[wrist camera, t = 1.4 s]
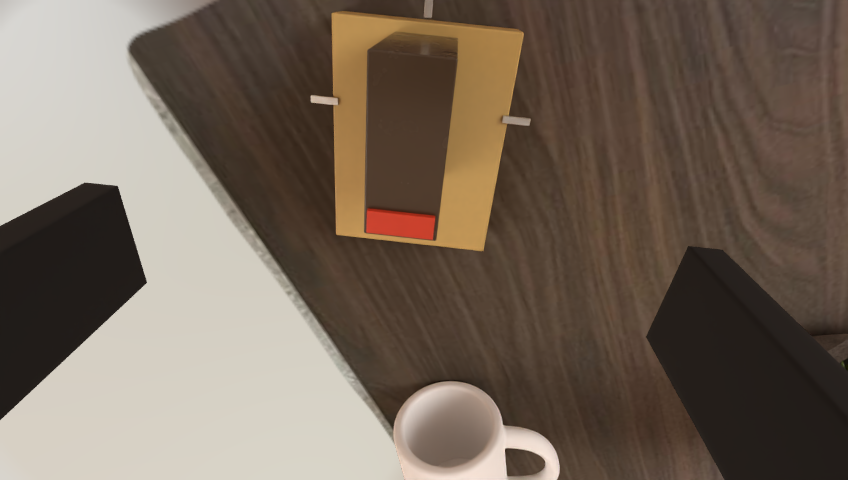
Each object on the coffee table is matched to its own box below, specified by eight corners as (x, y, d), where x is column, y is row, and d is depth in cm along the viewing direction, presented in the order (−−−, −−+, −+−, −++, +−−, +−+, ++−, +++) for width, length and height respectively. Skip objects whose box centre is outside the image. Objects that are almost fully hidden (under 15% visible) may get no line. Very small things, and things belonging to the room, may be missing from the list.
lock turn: (394, 31, 20) (365, 49, 14) (458, 37, 20) (458, 59, 14) (387, 171, 24) (362, 236, 17) (441, 177, 23) (435, 244, 17)
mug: (417, 456, 40) (409, 553, 33) (399, 381, 35) (385, 477, 28) (549, 453, 38) (569, 554, 31) (549, 375, 33) (573, 474, 27)
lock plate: (318, -29, 21) (304, -31, 19) (548, -6, 21) (557, -5, 19) (326, 218, 28) (317, 234, 26) (498, 237, 27) (501, 255, 26)
